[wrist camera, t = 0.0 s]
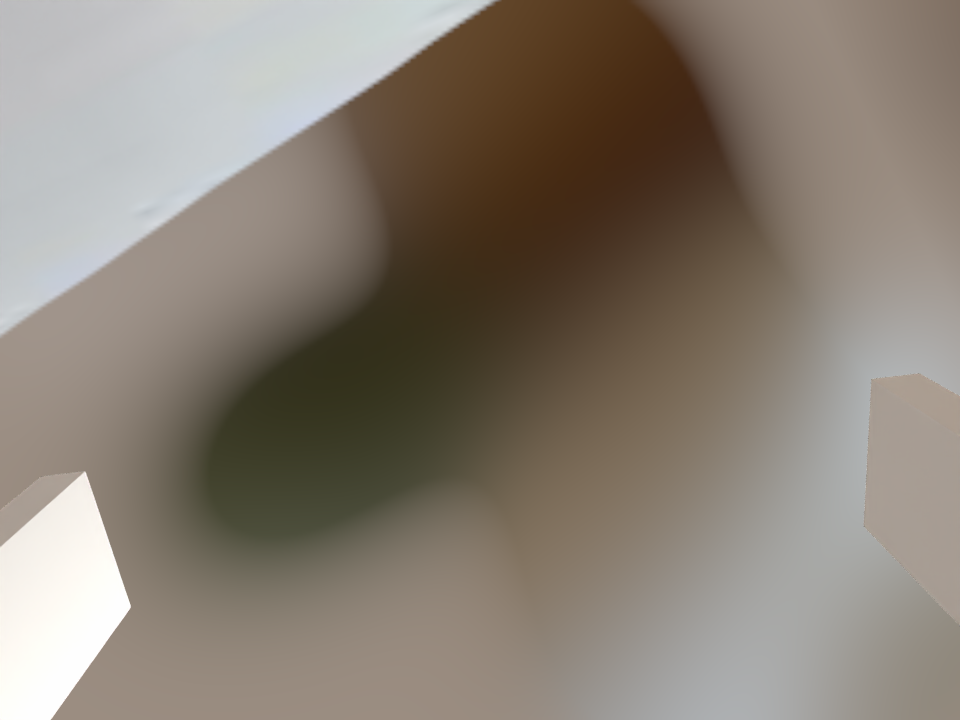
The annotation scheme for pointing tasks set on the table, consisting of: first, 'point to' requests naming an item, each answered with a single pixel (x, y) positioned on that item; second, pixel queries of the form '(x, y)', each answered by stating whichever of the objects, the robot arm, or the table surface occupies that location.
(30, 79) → the table surface
